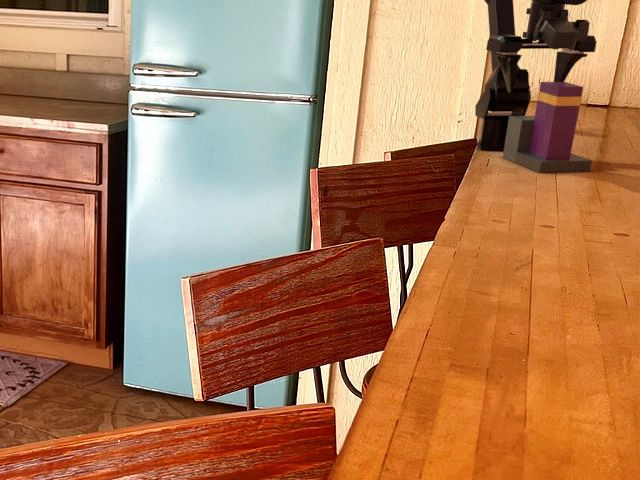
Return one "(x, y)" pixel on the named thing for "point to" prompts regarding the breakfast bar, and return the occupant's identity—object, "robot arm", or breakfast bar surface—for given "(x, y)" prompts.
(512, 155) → the grey l-shaped stand
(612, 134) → the breakfast bar surface
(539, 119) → the chocolate box
